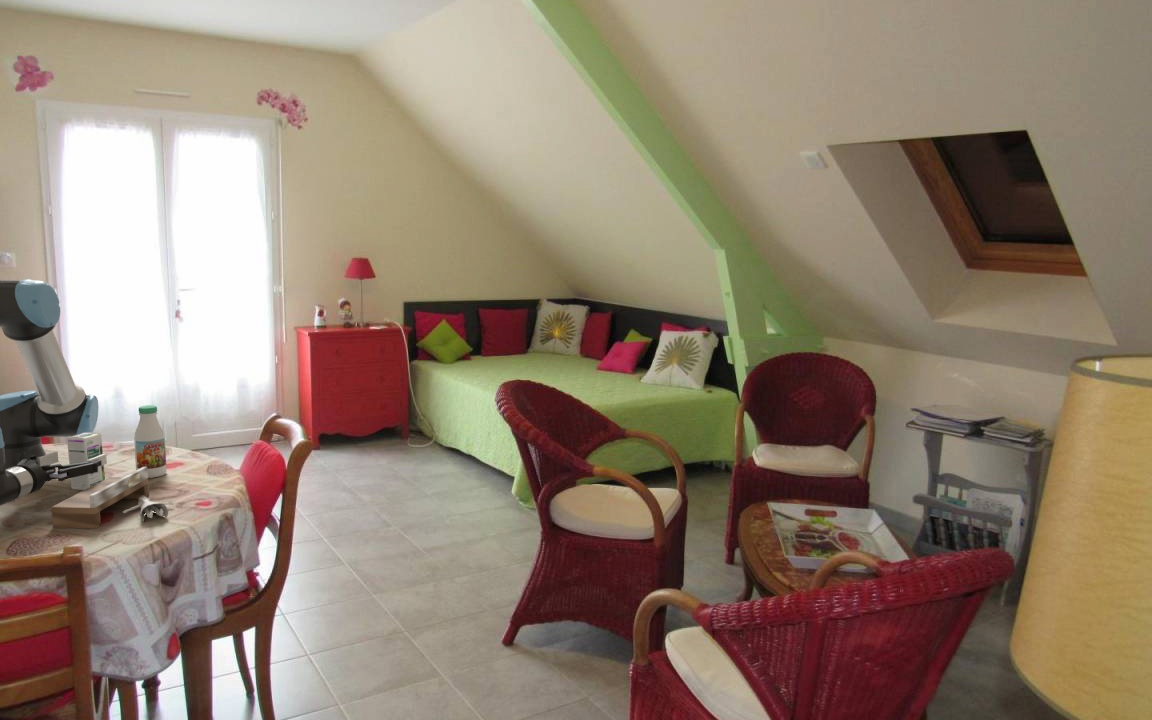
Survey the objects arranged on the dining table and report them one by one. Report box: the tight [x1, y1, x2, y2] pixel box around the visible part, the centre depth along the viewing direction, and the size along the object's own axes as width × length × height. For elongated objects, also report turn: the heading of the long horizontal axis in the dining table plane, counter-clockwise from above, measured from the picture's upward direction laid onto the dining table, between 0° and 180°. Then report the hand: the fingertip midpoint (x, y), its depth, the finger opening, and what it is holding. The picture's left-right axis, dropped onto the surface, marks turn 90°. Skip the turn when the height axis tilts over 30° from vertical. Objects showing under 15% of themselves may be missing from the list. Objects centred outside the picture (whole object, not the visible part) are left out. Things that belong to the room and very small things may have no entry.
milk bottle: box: [133, 404, 167, 479], centre depth 228 cm, size 8×8×20 cm
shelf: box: [51, 467, 150, 529], centre depth 199 cm, size 24×10×8 cm, turn 1°
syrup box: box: [66, 432, 106, 491], centre depth 217 cm, size 6×6×14 cm
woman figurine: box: [122, 495, 175, 522], centre depth 198 cm, size 12×4×18 cm
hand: (81, 457), depth 214 cm, fingers open, 13 cm apart
